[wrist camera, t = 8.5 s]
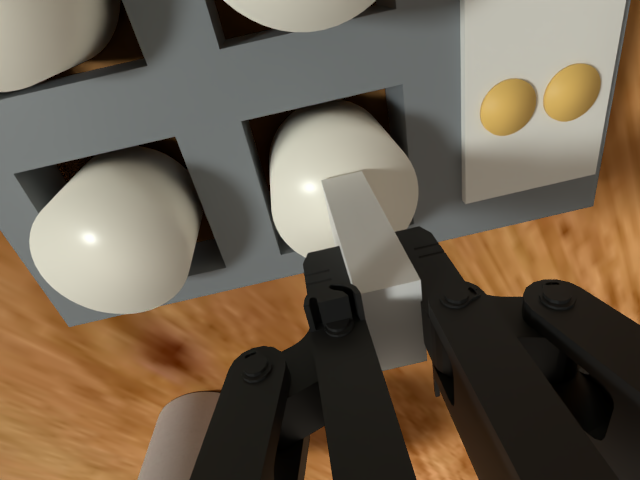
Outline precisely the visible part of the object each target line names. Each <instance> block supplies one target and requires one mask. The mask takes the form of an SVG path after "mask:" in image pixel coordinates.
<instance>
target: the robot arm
mask: <svg viewBox="0 0 640 480" xmlns="http://www.w3.org/2000/svg"><path fill="white" fill-rule="evenodd" d="M321 182H322V187H323V192H324V196H325V201H326V206H327V211H328V216H329V220H330V225H331V230H332V235H333V240H334V244H335V247H332V248H327V249H323V250H319V251H314V252H310V253H308V254H307V256H306V258H305V260H304V262H303V269H304V275H305V282H306V288H307V296H306V297H305V300H304V310H305V313H306V317H307V320H308V324H309V327H310V329H309V331H308V332H307V334H306V335H305V337H304V338H303V339H302V340H301V341H299V342H298V343H297V344H295V345H293V346H292V347H290V348H288V349H286V350H284V351H282V352H281V351H279V350H277V349H275V348H274V347H267V346H261V347H256V348H252V349H250V350H248V351H246V352H244V353H242V354H241V355H240V356H239V357H238V358H237V359H236V360H234V362H233V363H232V365H231V367H230V369H229V371H228V373H227V376H226V379H225V382H224V385H223V387H222V390H221V393H220V396H219V398H218V401H217V404H216V407H215V410H214V412H213V415H212V418H211V421H210V424H209V426H208V429H207V432H206V435H205V437H204V440H203V443H202V446H201V449H200V451H199V454H198V457H197V460H196V463H195V465H194V468H193V471H192V474H191V476H190V479H189V480H304V476H305V469H306V462H307V454H308V447H309V440H310V434H311V433H313V432H315V431H317V430H318V429H320V428H322V427H323V426H325V430H326V437H327V443H328V450H329V457H330V463H331V470H332V477H333V480H416V476H415V473H414V470H413V467H412V464H411V461H410V458H409V454H408V451H407V448H406V445H405V442H404V439H403V435H402V432H401V429H400V426H399V423H398V420H397V417H396V413H395V410H394V407H393V404H392V401H391V398H390V395H389V391H388V388H387V385H386V382H385V379H384V376H383V373H382V371H384V370H389V369H393V368H397V367H402V366H406V365H410V364H415V363H419V362H423V361H427V353H426V349H427V351H428V353H429V355H430V357H431V360H432V364H433V379H434V391H435V396H436V397H438V396H440V392H441V394H442V396H443V399H444V401H445V403H446V406H447V408H448V410H449V412H450V415H451V417H452V419H453V422H454V424H455V426H456V428H457V431H458V433H459V435H460V438H461V440H462V442H463V444H464V447H465V449H466V451H467V454H468V456H469V458H470V460H471V463H472V465H473V467H474V470H475V472H476V474H477V476H478V479H479V480H640V325H639V324H637V323H636V322H634V321H633V320H631V319H629V318H628V317H626V316H625V315H623V314H621V313H620V312H618V311H617V310H615V309H614V308H612V307H610V306H609V305H607V304H606V303H604V302H603V301H601V300H599V299H598V298H596V297H595V296H593V295H592V294H590V293H588V292H587V291H585V290H584V289H582V288H580V287H578V286H576V285H574V284H572V283H570V282H566V281H561V280H541V281H537V282H533V283H532V284H531V285H529V286H528V287H526V289H525V292H524V294H523V297H498V296H490V295H486V294H485V293H484V291H482V290H481V289H480V288H479V287H478V286H476V285H474V284H472V283H469V282H465V281H464V279H463V278H462V277H461V275H460V274H459V272H458V271H457V269H456V268H455V266H454V265H453V263H452V262H451V260H450V259H449V258H448V256H447V255H446V253H444V250H443V249H442V247H441V246H440V245H439V244H438V242H437V240H436V239H435V237H434V236H433V234H432V233H431V232H429V231H427V230H425V229H423V228H422V227H420V226H418V227H413V228H409V229H405V230H400V231H396V232H394V230H393V228H392V226H391V224H390V222H389V221H388V219H387V217H386V215H385V213H384V211H383V209H382V208H381V206H380V204H379V202H378V200H377V198H376V197H375V195H374V193H373V191H372V189H371V187H370V185H369V184H368V182H367V180H366V178H365V176H364V174H363V172H362V171H359V172H355V173H351V174H346V175H342V176H337V177H333V178H329V179H324V180H321Z"/></svg>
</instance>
